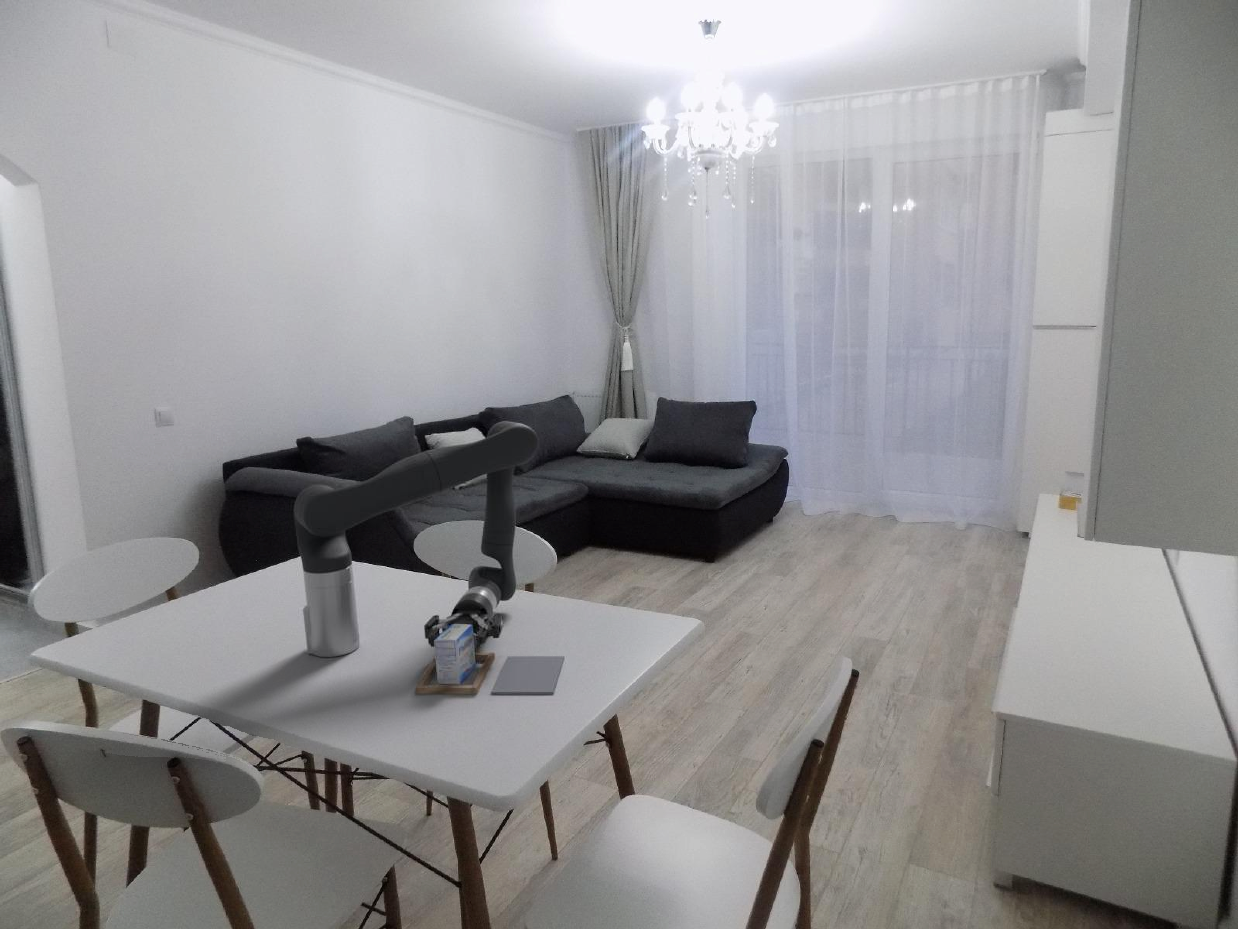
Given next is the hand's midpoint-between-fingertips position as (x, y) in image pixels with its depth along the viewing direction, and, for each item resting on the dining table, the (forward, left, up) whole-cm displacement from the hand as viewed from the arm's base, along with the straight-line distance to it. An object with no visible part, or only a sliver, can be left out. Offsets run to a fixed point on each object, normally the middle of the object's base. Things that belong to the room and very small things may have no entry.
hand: (454, 642), depth 151 cm
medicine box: (0, 0, -7) cm, 7 cm away
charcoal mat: (+13, 0, -7) cm, 15 cm away
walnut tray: (0, 0, -7) cm, 7 cm away
